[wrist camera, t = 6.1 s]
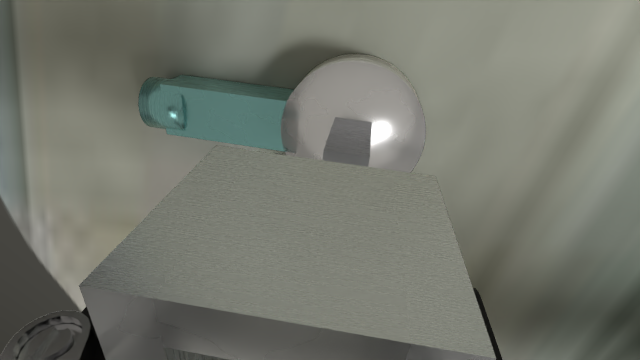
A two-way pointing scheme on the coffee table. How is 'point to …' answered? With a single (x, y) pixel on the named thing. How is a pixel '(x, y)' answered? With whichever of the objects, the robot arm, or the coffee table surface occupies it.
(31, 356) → the robot arm
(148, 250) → the hollow white cube
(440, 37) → the coffee table surface
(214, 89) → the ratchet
